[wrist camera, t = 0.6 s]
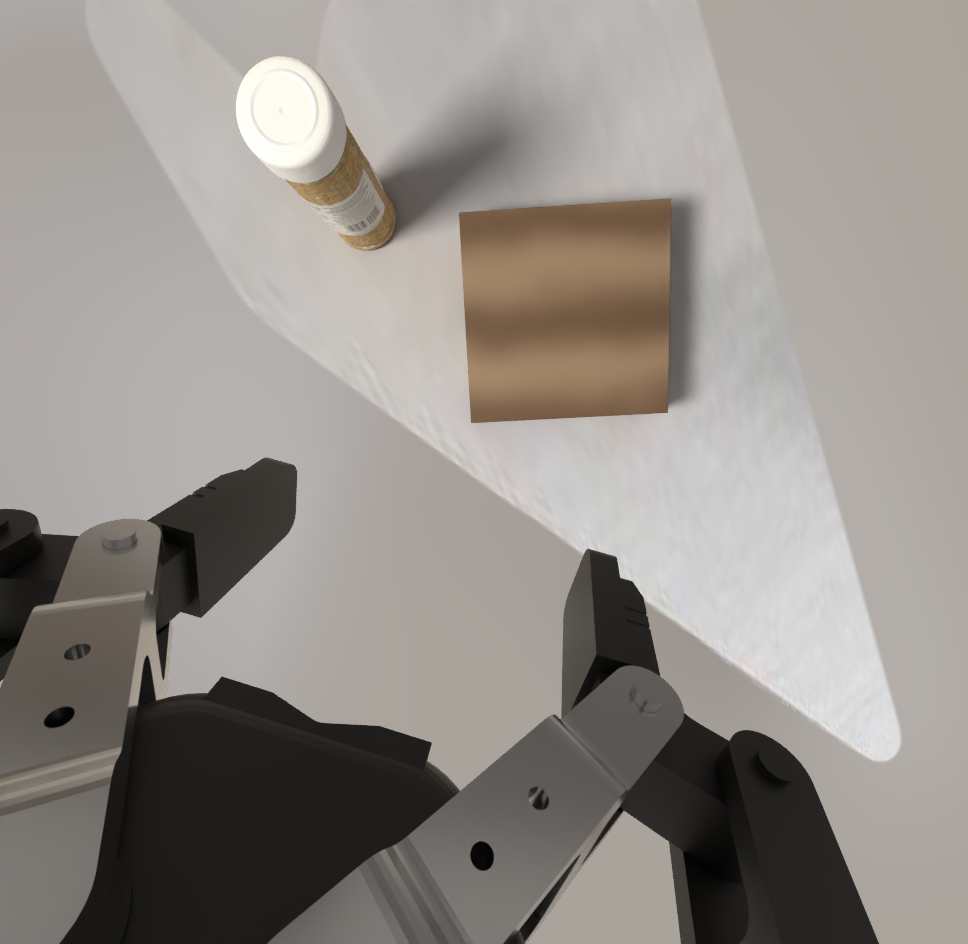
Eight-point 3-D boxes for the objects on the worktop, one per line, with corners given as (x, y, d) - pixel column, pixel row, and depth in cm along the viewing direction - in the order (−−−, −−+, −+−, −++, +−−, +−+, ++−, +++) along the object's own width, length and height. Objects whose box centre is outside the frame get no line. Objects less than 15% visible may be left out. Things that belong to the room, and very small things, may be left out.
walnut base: (462, 228, 34) (458, 212, 31) (655, 215, 33) (671, 198, 30) (473, 420, 36) (471, 422, 33) (653, 410, 36) (667, 412, 33)
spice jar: (386, 178, 33) (315, 36, 20) (404, 243, 34) (346, 149, 21) (326, 195, 33) (216, 67, 20) (345, 260, 34) (251, 177, 21)
